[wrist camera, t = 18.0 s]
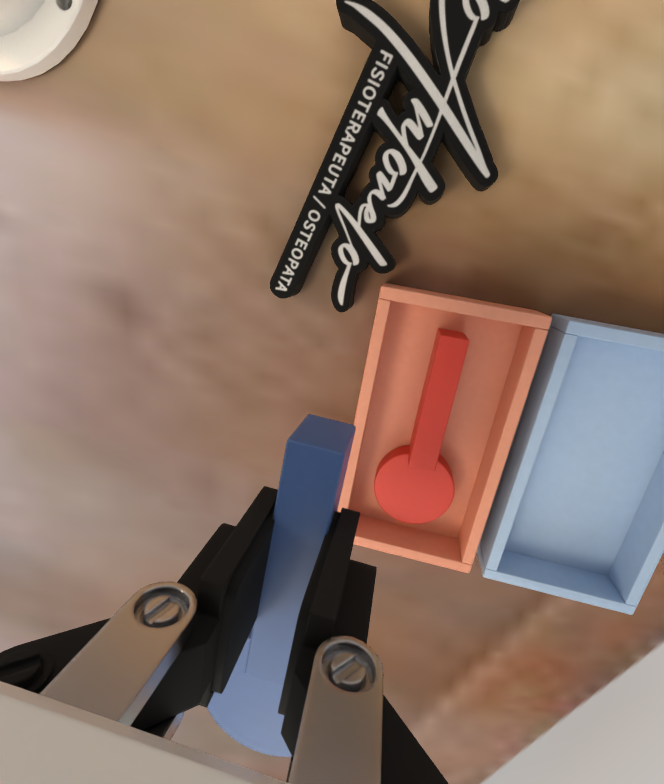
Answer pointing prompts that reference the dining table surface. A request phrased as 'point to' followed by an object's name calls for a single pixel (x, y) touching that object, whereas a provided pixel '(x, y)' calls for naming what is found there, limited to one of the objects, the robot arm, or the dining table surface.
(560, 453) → the blue bin
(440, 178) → the nameplate
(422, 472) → the red spoon
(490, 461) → the red bin
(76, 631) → the robot arm
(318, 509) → the blue spoon
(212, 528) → the dining table surface
